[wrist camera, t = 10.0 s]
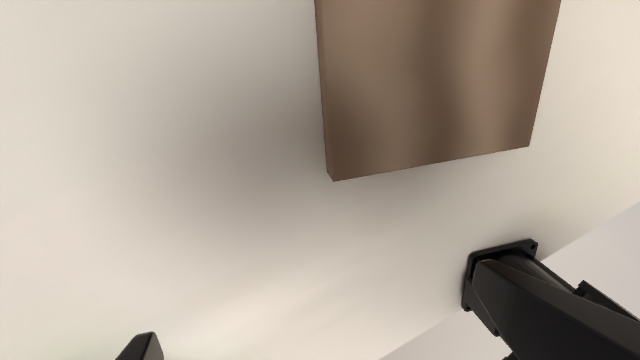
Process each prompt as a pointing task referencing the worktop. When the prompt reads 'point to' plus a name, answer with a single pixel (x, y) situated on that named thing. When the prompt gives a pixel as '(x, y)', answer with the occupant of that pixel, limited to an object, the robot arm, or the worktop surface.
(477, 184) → the worktop surface
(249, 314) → the worktop surface
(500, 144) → the post board
